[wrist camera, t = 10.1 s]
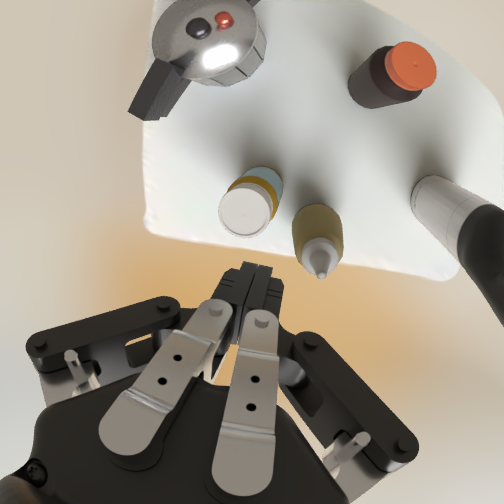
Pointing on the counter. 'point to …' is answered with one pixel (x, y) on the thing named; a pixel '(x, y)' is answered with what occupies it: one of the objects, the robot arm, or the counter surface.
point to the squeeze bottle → (318, 239)
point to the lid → (194, 48)
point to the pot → (232, 75)
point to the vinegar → (392, 75)
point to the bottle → (251, 202)
